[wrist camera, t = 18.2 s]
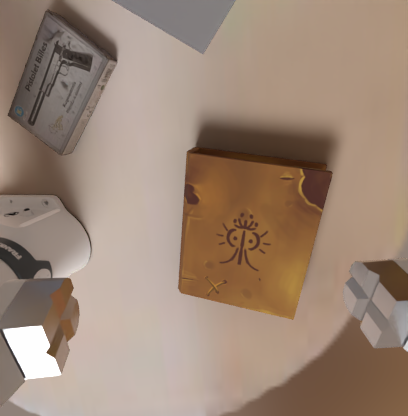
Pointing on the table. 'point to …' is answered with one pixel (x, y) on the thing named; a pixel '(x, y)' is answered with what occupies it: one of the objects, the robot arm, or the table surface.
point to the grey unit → (183, 18)
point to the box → (60, 84)
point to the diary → (249, 228)
